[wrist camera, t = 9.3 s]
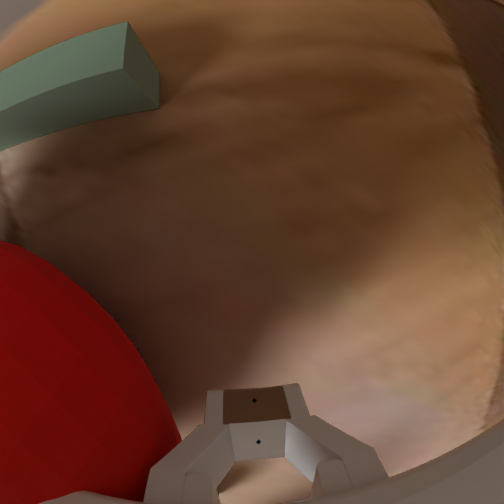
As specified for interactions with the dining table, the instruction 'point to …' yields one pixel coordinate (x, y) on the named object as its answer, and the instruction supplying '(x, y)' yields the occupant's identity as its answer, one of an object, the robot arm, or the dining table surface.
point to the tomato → (71, 392)
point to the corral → (77, 85)
